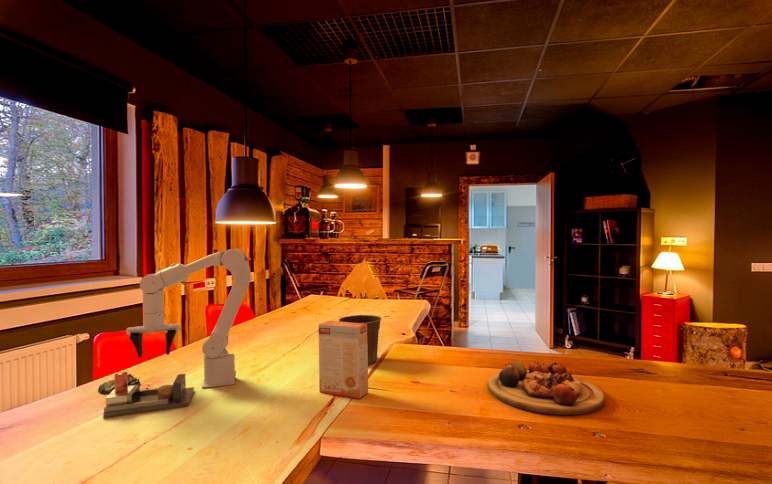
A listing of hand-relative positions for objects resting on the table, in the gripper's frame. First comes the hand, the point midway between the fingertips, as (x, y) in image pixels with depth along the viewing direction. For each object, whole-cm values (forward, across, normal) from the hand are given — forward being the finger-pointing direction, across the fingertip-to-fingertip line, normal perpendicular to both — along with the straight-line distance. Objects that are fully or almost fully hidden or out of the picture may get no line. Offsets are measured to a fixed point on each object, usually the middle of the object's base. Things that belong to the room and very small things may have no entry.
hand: (154, 355), depth 123 cm
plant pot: (+11, +68, +3) cm, 69 cm away
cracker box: (+11, +55, -25) cm, 61 cm away
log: (+11, -11, +5) cm, 16 cm away
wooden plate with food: (+11, +110, -46) cm, 120 cm away
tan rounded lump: (+9, +6, -13) cm, 17 cm away
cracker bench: (+10, +2, -13) cm, 17 cm away
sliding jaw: (+9, -5, -13) cm, 17 cm away
